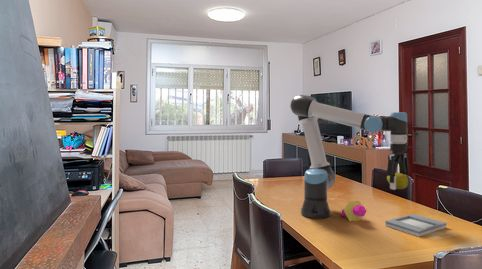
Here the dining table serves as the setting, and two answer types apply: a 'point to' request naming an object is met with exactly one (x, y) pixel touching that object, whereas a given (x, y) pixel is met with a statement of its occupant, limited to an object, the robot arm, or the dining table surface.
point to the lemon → (400, 181)
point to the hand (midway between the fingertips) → (397, 188)
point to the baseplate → (415, 224)
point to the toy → (354, 211)
